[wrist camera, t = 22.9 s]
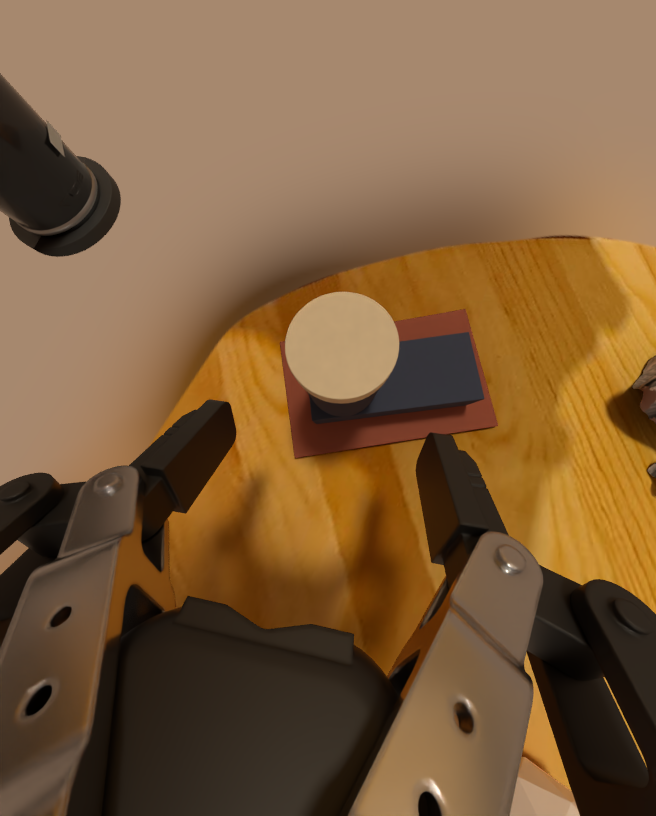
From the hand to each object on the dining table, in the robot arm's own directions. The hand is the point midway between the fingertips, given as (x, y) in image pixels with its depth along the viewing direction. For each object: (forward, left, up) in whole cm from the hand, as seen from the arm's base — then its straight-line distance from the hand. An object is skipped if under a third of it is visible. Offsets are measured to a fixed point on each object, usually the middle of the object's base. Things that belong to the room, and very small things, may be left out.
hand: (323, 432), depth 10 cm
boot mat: (+2, +6, -10) cm, 12 cm away
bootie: (+3, +6, -9) cm, 11 cm away
